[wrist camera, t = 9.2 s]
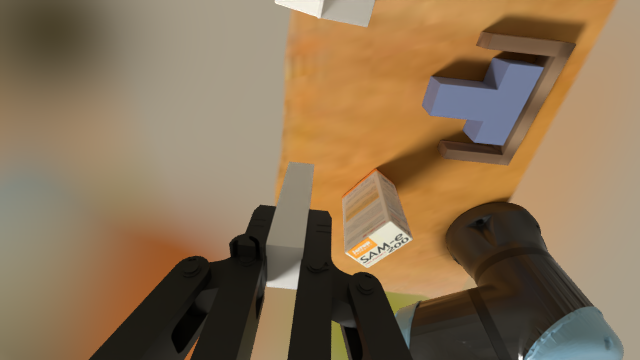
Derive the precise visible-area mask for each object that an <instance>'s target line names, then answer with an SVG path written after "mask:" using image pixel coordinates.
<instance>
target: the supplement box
mask: <svg viewBox="0 0 640 360" xmlns="http://www.w3.org/2000/svg"><path fill="white" fill-rule="evenodd" d="M342 201H343V223H344V245H345V254H347V255H348V256H350V257H352V258H353V259H355V260H356V261H358V262H359V263H360V264H362V265H364V266H365V267H367V268H369V267H370V266H372V265H373V264H375V263H376V262H378V261H379V260H381V259H383V258H384V257H386V256H387V255H389V254H390V253H392V252H394V251H395V250H397V249H398V248H400V247H401V246H403V245H405V244H406V243H408V242H409V241H411V240H413V238H412V235H411V232H410V229H409V226H408V223H407V220H406V217H405V215H404V211H403V209H402V206H401V203H400V200H399V197H398V194H397V191H396V188H395V185H394V183H393V182H391V181H390V180H389V179H388V178H386V177H385V176H384V175H383V174H382V173H381V172H379V171H378V170H377V169H374V170H373V171H372V172H371V173H370V174H368V175H367V176H366V177H365V178H364V179H362V180H361V181H360V182H359V183H358V184H357V185H355V186H354V187H353V188H352V189H351V190H350V191H348V192H347V193H346V194H345V195H344V196H343V197H342Z"/></svg>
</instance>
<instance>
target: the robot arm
mask: <svg viewBox="0 0 640 360" xmlns="http://www.w3.org/2000/svg"><path fill="white" fill-rule="evenodd" d="M313 172H314V164H306V163H296V162H289V165H288V168H287V172H286V175H285V179H284V182H283V186H282V189H281V193H280V196H279V200H278V203H277V207H276V206H266V205H260V206H259V207H257V208H256V209H255V210H254V212H253V214H252V217H251V220H250V222H249V225H248V227H247V230H246V232H245V234H242V235H238V236H237V237H235V238H234V239H232V241H231V242H230V243H229V246H230V254H231V257H230V258H227V259H225V260H221V261H215V262H208V261H207V259H205V258H204V257H201V256H193V257H188V258H186V259H183V260H182V261H180V262H179V263H178V264H177V265H176V266H175V267H174V268H173V269H172V270H171V272H169V274H168V275H167V276H166V277H165V278H164V279H163V280H162V281H161V282H160V283H159V284H158V285H157V286H156V287H155V289H154V290H153V291H152V292H151V293H150V294H149V295H148V296H147V297H146V298H145V299H144V300H143V302H142V303H141V304H140V305H139V306H138V307H137V308H136V309H135V310H134V311H133V312H132V313H131V315H130V316H129V317H128V318H127V319H126V320H125V321H124V322H123V323H122V324H121V325H120V326H119V328H117V330H116V331H115V332H114V333H113V334H112V335H111V336H110V337H109V338H108V339H107V341H105V343H104V344H103V345H102V346H101V347H100V348H99V349H98V350H97V351H96V352H95V353H94V354H93V356H92V357H91V358H90V359H89V360H184V359H185V357H186V356H187V354H188V353H189V351H190V350H191V348H192V347H193V345H194V343H195V342H196V340H197V339H198V337H199V339H198V341H197V344H196V346H195V349H194V351H193V354H192V356H191V359H190V360H250V357H251V353H252V349H253V345H254V341H255V336H256V332H257V328H258V324H259V319H260V315H261V310H262V306H263V302H264V290H265V286H266V282H267V286H268V287H277V288H288V289H297V293H296V301H295V308H294V315H293V324H292V330H291V338H290V346H289V352H288V359H287V360H331V320H332V321H335V322H337V323H339V324H340V326H341V330H342V334H343V338H344V342H345V346H346V350H347V354H348V358H349V360H622V358H623V353H624V352H623V351H624V350H623V345H622V343H621V341H620V339H619V338H618V336H617V335H616V334H615V332H614V331H613V330H612V329H611V327H610V326H609V325H608V323H607V322H606V321H605V320H604V318H603V314H602V313H601V312H600V311H599V310H598V309H597V308H596V307H594V305H593V304H592V303H591V302H590V301H589V300H588V298H587V297H586V296H585V295H584V294H583V293H582V292H581V290H580V289H579V288H578V287H577V286H576V285H575V283H574V282H573V281H572V280H571V279H570V277H569V276H568V275H567V274H566V273H565V272H564V270H563V269H562V268H561V267H560V266H559V265H558V263H557V262H556V261H555V260H554V259H553V258H552V256H551V255H550V254H549V253H548V250H547V248H546V245H545V242H544V240H543V238H542V236H541V231H540V227H539V224H538V223H537V221H536V220H535V218H534V217H533V216H532V215H531V214H530V213H529V212H528V211H527V210H526V209H524V208H523V207H521V206H519V205H516V204H513V203H506V202H497V203H489V204H485V205H481V206H478V207H476V208H473V209H471V210H469V211H467V212H465V213H464V214H462V215H461V216H460V217H458V218H457V219H456V220H455V221H454V222H453V223H452V225H451V226H450V228H449V229H448V231H447V234H446V245H447V247H448V250H449V252H450V254H451V256H452V257H453V259H454V260H455V261H456V262H457V263H458V264H460V265H461V266H462V267H463V268H464V269H465V271H466V272H467V273H468V274H469V275H470V276H471V277H472V278H473V279H474V280H475V282H476V284H477V286H478V287H476V288H472V289H468V290H464V291H460V292H456V293H453V294H449V295H445V296H441V297H438V298H434V299H430V300H426V301H418V302H416V303H415V304H412V305H409V306H406V307H403V308H401V309H399V310H398V311H397V313H396V314H395V316H394V313H393V311H392V309H391V306H390V304H389V301H388V299H387V297H386V294H385V292H384V290H383V287H382V285H381V283H380V282H379V280H378V279H377V278H376V277H375V276H373V275H372V274H369V273H367V272H359V273H355V274H354V275H353V276H352V275H349V274H347V273H344V272H342V271H341V270H339V269H338V268H337V267H336V266H335V265H334V264H333V262H332V259H331V231H332V218H331V216H330V214H329V212H328V211H321V210H311V209H310V203H311V193H312V183H313Z"/></svg>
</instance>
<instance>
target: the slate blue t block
mask: <svg viewBox="0 0 640 360" xmlns="http://www.w3.org/2000/svg"><path fill="white" fill-rule="evenodd" d="M543 69H544V67H541V66H538V65H535V64H532V63H529V62H526V61H520V60H511V59H502V58H493V59H492V61H491V63H490V66H489V68H488V71H487V73H486V75H485V78H484V80H483V82H481V81H472V80H463V79H454V78H445V77H436V76H431V77H430V81H429V84H428V87H427V90H426V93H425V97H424V100H423V103H422V106H423V108H424V109H425V110H426V111H427V112H428V114H429V115H430V116H439V117H448V118H457V119H467V121H466V123H465V126H464V128H463V131H464V133H465V134H466V135H467V136H468V137H469V138H470V139H471V140H472V141H473V142H476V143H485V144H494V145H504V143H505V141H506V139H507V137H508V135H509V133H510V131H511V130H512V128H513V126H514V124H515V122H516V120H517V118H518V116H519V114H520V112H521V111H522V109H523V107H524V105H525V103H526V101H527V99H528V97H529V95H530V93H531V92H532V90H533V88H534V86H535V84H536V82H537V80H538V78H539V76H540V74H541V73H542V71H543Z"/></svg>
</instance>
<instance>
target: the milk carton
mask: <svg viewBox="0 0 640 360" xmlns="http://www.w3.org/2000/svg"><path fill="white" fill-rule="evenodd" d="M275 3H276V4H279V5H282V6H285V7H288V8H291V9H294V10H298V11H301V12H304V13H307V14H310V15H313V16H316V17H317V18H324V19H329V20H334V21H339V22H344V23H349V24H354V25H359V26H364V27H367V26H368V24H369V21H370V17H371V14H372V10H373V7H374V3H375V0H275Z"/></svg>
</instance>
